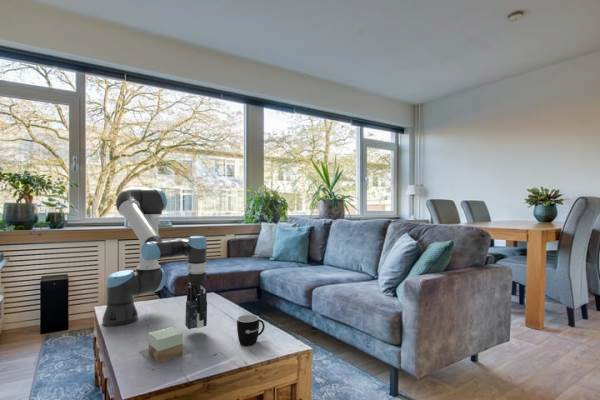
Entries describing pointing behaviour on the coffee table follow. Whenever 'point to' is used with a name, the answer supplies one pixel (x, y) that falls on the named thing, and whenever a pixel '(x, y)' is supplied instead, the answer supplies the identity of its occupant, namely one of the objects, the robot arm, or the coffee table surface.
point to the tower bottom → (165, 353)
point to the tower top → (165, 338)
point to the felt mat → (146, 355)
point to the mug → (248, 329)
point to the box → (193, 315)
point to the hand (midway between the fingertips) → (196, 324)
